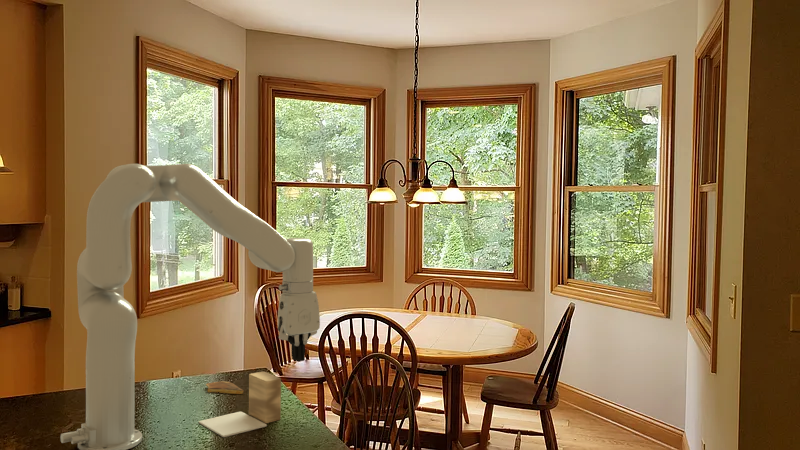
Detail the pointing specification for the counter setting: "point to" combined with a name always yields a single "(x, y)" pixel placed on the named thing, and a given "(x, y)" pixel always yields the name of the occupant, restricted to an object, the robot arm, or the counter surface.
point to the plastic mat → (232, 424)
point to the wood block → (265, 396)
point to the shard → (224, 387)
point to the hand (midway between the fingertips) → (298, 360)
